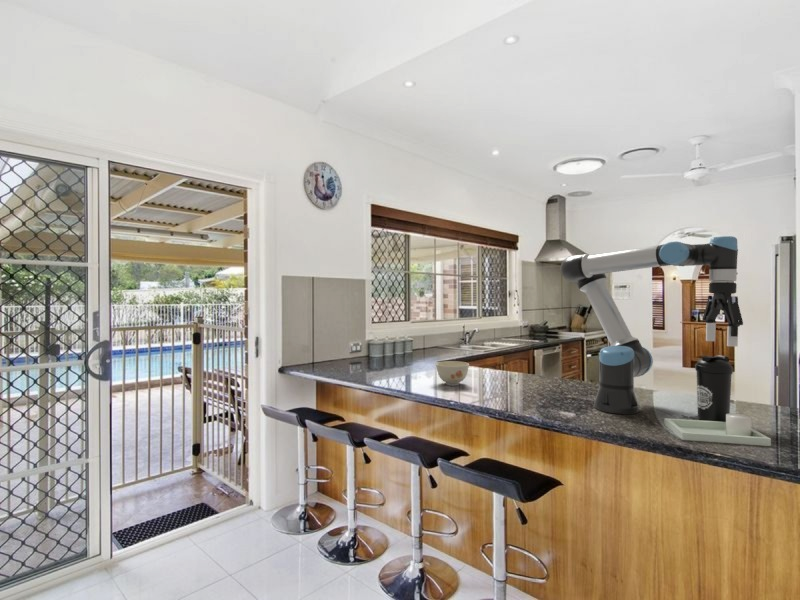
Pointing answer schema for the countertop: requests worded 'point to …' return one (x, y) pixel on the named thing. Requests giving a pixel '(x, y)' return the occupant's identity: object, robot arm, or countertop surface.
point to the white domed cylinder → (738, 424)
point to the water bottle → (713, 387)
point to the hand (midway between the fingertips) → (720, 343)
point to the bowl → (452, 371)
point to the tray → (712, 432)
